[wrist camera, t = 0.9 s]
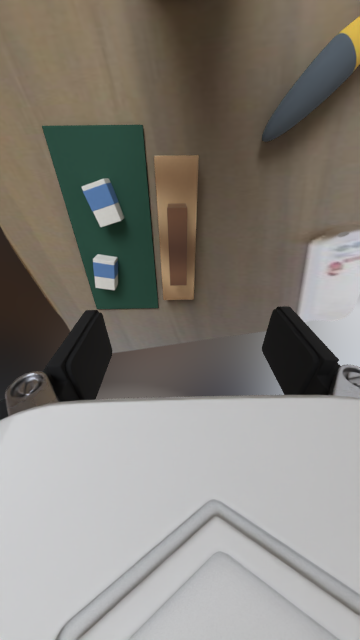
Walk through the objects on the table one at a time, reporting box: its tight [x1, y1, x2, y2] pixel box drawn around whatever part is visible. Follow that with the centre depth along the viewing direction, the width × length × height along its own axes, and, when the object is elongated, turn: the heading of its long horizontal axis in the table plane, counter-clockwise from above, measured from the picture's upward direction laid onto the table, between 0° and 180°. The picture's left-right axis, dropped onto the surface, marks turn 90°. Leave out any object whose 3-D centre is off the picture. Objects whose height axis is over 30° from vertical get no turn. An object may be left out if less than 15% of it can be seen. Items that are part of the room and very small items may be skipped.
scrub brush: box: [154, 155, 199, 300], centre depth 29 cm, size 20×5×7 cm, turn 1°
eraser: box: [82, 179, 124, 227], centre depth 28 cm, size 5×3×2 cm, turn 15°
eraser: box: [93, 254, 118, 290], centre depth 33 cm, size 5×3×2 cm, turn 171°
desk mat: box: [42, 125, 158, 309], centre depth 32 cm, size 26×12×1 cm, turn 1°
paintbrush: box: [262, 16, 360, 142], centre depth 19 cm, size 20×5×5 cm, turn 139°
